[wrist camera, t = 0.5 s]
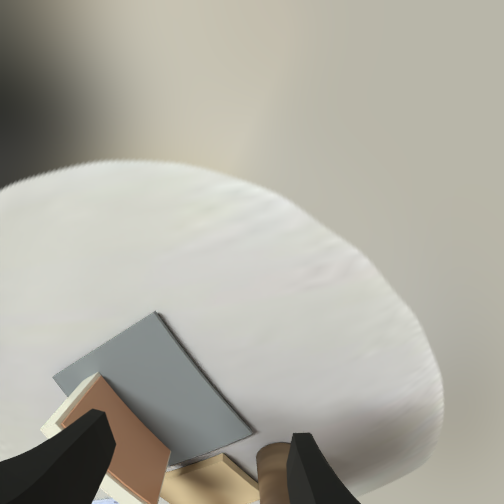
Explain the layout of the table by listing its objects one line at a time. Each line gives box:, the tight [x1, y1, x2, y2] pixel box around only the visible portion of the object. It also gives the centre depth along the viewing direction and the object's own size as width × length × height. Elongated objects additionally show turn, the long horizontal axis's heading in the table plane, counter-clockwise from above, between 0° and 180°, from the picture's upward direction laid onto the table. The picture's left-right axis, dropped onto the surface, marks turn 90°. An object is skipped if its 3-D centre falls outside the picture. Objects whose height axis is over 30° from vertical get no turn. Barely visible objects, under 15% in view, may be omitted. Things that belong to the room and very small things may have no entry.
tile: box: [40, 372, 171, 504], centre depth 16 cm, size 2×9×7 cm, turn 32°
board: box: [160, 453, 260, 504], centre depth 20 cm, size 9×7×1 cm
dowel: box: [256, 443, 291, 504], centre depth 17 cm, size 4×4×7 cm
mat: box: [53, 311, 252, 466], centre depth 19 cm, size 12×12×1 cm
